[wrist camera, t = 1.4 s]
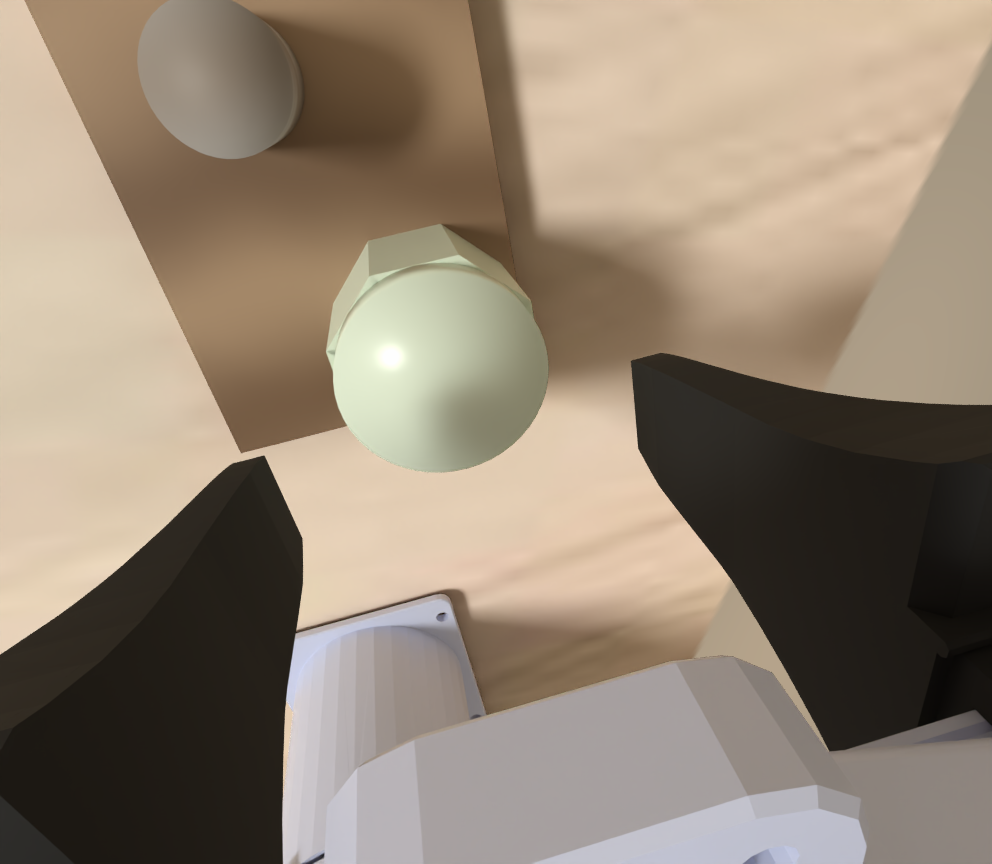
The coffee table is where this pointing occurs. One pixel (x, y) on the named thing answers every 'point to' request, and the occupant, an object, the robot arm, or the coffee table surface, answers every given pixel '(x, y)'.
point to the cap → (435, 352)
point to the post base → (278, 166)
